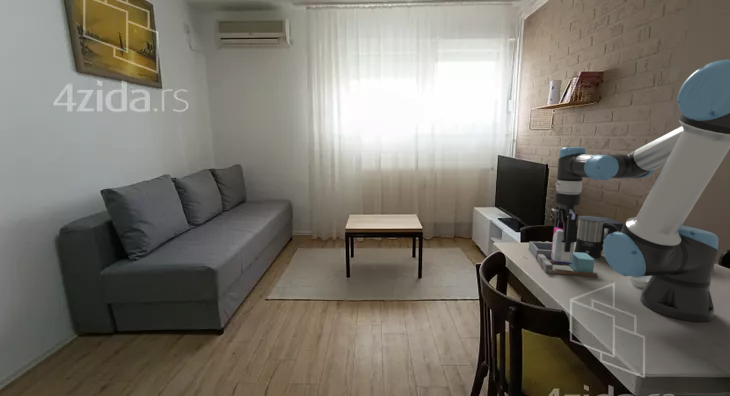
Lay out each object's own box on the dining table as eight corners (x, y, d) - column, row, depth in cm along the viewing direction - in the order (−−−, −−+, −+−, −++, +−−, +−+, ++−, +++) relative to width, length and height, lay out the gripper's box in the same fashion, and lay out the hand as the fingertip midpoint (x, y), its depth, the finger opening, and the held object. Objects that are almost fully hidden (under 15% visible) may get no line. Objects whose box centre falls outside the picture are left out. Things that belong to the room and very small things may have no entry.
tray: (567, 260, 130) (568, 252, 130) (536, 258, 132) (536, 250, 132) (557, 251, 141) (558, 243, 140) (528, 249, 143) (529, 241, 142)
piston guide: (597, 277, 116) (598, 268, 115) (545, 273, 119) (546, 264, 119) (583, 264, 127) (584, 257, 126) (536, 261, 130) (537, 253, 129)
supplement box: (572, 264, 118) (576, 232, 116) (553, 262, 120) (556, 231, 118) (568, 259, 124) (571, 228, 122) (550, 257, 126) (553, 226, 124)
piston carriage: (592, 273, 118) (594, 259, 117) (576, 272, 119) (578, 258, 118) (584, 266, 125) (586, 252, 124) (569, 264, 126) (570, 251, 125)
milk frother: (577, 256, 135) (581, 219, 133) (566, 244, 150) (570, 211, 147) (619, 260, 131) (625, 222, 128) (604, 247, 146) (609, 213, 143)
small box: (590, 239, 157) (593, 216, 155) (604, 239, 157) (608, 217, 155) (605, 246, 147) (608, 223, 145) (620, 247, 147) (624, 223, 145)
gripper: (547, 188, 128) (542, 248, 132) (566, 196, 109) (559, 265, 113) (569, 189, 126) (563, 249, 130) (592, 197, 108) (584, 267, 112)
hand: (561, 256), depth 122 cm, fingers closed on supplement box, 6 cm apart
